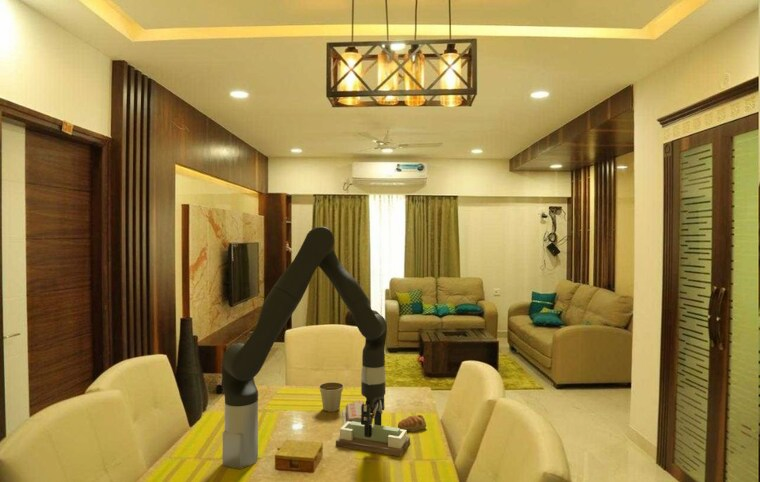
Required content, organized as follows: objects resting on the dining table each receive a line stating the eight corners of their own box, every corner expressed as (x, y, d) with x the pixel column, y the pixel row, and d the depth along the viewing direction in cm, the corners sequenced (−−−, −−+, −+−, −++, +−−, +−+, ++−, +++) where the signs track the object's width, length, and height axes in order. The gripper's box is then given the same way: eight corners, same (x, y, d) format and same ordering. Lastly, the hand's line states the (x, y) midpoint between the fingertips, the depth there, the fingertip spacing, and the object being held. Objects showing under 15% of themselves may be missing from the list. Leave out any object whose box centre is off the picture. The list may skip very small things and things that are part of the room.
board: (400, 456, 135) (400, 451, 135) (335, 445, 142) (335, 440, 142) (409, 442, 144) (409, 437, 144) (348, 432, 151) (348, 428, 151)
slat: (397, 444, 139) (397, 431, 139) (349, 436, 145) (349, 424, 145) (399, 441, 142) (400, 428, 142) (352, 433, 147) (352, 421, 147)
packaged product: (373, 417, 153) (343, 418, 152) (373, 432, 153) (343, 433, 152) (369, 398, 171) (342, 399, 170) (369, 411, 171) (342, 412, 170)
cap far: (351, 440, 142) (351, 430, 142) (339, 438, 143) (339, 428, 143) (359, 432, 148) (359, 422, 148) (347, 430, 149) (347, 421, 149)
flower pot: (327, 415, 166) (327, 391, 166) (314, 408, 173) (314, 385, 173) (348, 409, 171) (348, 386, 171) (334, 402, 179) (335, 380, 179)
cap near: (400, 448, 137) (400, 438, 137) (388, 446, 138) (388, 436, 138) (406, 439, 143) (406, 430, 143) (394, 437, 144) (394, 428, 144)
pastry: (403, 434, 151) (403, 422, 151) (394, 427, 157) (394, 415, 157) (428, 429, 155) (428, 417, 155) (417, 422, 161) (417, 411, 161)
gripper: (370, 372, 151) (370, 421, 151) (353, 384, 137) (353, 438, 137) (392, 374, 148) (391, 424, 148) (376, 387, 135) (376, 442, 135)
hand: (373, 431), depth 143 cm, fingers open, 8 cm apart
